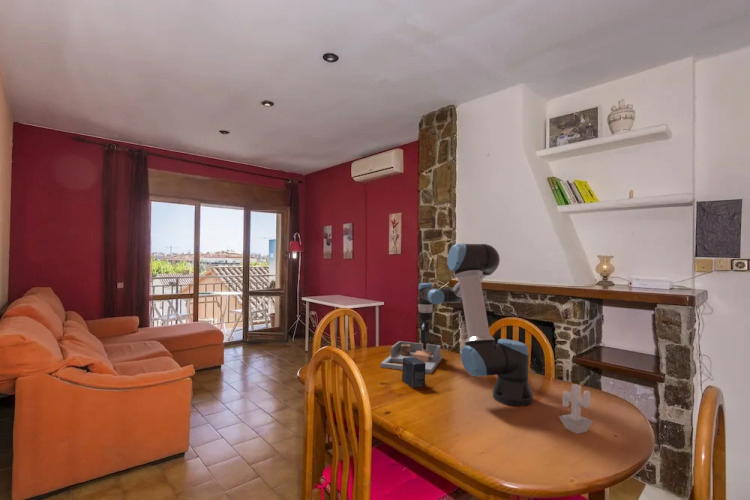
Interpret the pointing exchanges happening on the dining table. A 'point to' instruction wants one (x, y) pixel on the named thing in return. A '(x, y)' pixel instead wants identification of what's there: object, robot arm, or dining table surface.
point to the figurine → (576, 410)
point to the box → (413, 372)
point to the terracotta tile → (423, 355)
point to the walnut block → (405, 349)
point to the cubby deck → (414, 347)
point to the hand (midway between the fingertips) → (425, 355)
